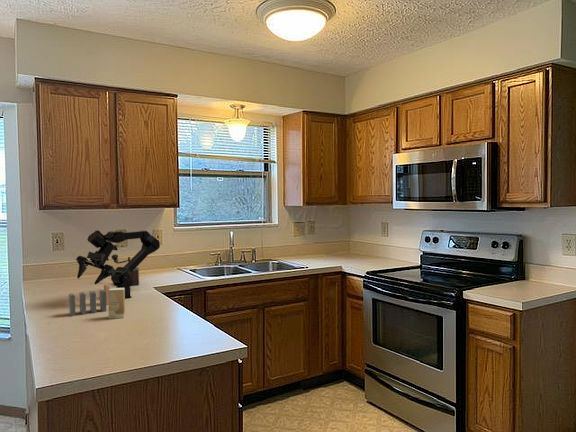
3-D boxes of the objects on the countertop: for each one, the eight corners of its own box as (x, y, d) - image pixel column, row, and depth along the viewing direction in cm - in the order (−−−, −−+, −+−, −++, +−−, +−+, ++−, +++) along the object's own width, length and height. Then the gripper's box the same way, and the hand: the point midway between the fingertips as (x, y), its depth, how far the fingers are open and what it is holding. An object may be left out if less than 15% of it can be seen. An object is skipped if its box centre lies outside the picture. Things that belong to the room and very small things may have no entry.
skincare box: (108, 319, 187) (107, 290, 186) (109, 316, 191) (108, 288, 190) (124, 317, 188) (123, 289, 188) (125, 315, 193) (124, 287, 192)
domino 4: (104, 309, 204) (103, 289, 204) (106, 311, 200) (105, 291, 200) (100, 309, 203) (99, 290, 203) (102, 311, 199) (102, 291, 199)
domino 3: (94, 310, 202) (93, 290, 201) (96, 312, 198) (95, 292, 197) (90, 311, 201) (89, 291, 200) (92, 313, 197) (91, 293, 196)
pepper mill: (139, 282, 270) (139, 252, 270) (138, 285, 260) (137, 254, 259) (112, 283, 266) (111, 254, 266) (110, 287, 256) (109, 256, 255)
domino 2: (83, 311, 199) (83, 292, 199) (85, 314, 195) (85, 293, 195) (80, 312, 198) (79, 292, 198) (82, 314, 194) (81, 294, 194)
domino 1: (73, 313, 197) (72, 293, 197) (75, 315, 193) (74, 295, 192) (69, 314, 196) (68, 293, 196) (71, 316, 192) (70, 295, 192)
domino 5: (107, 302, 216) (107, 284, 216) (110, 304, 212) (109, 286, 212) (104, 303, 215) (103, 284, 215) (106, 305, 211) (106, 286, 211)
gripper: (80, 239, 212) (62, 267, 204) (115, 251, 209) (98, 279, 201) (89, 250, 222) (71, 277, 213) (122, 261, 219) (106, 289, 211)
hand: (86, 281), depth 209 cm, fingers open, 9 cm apart
